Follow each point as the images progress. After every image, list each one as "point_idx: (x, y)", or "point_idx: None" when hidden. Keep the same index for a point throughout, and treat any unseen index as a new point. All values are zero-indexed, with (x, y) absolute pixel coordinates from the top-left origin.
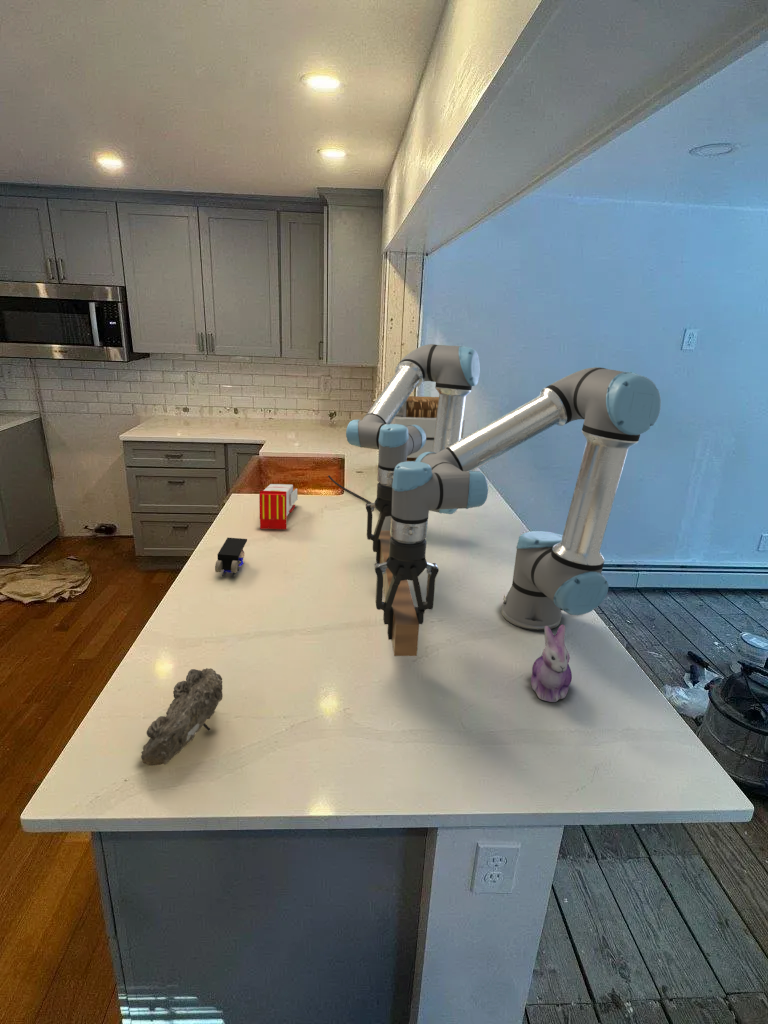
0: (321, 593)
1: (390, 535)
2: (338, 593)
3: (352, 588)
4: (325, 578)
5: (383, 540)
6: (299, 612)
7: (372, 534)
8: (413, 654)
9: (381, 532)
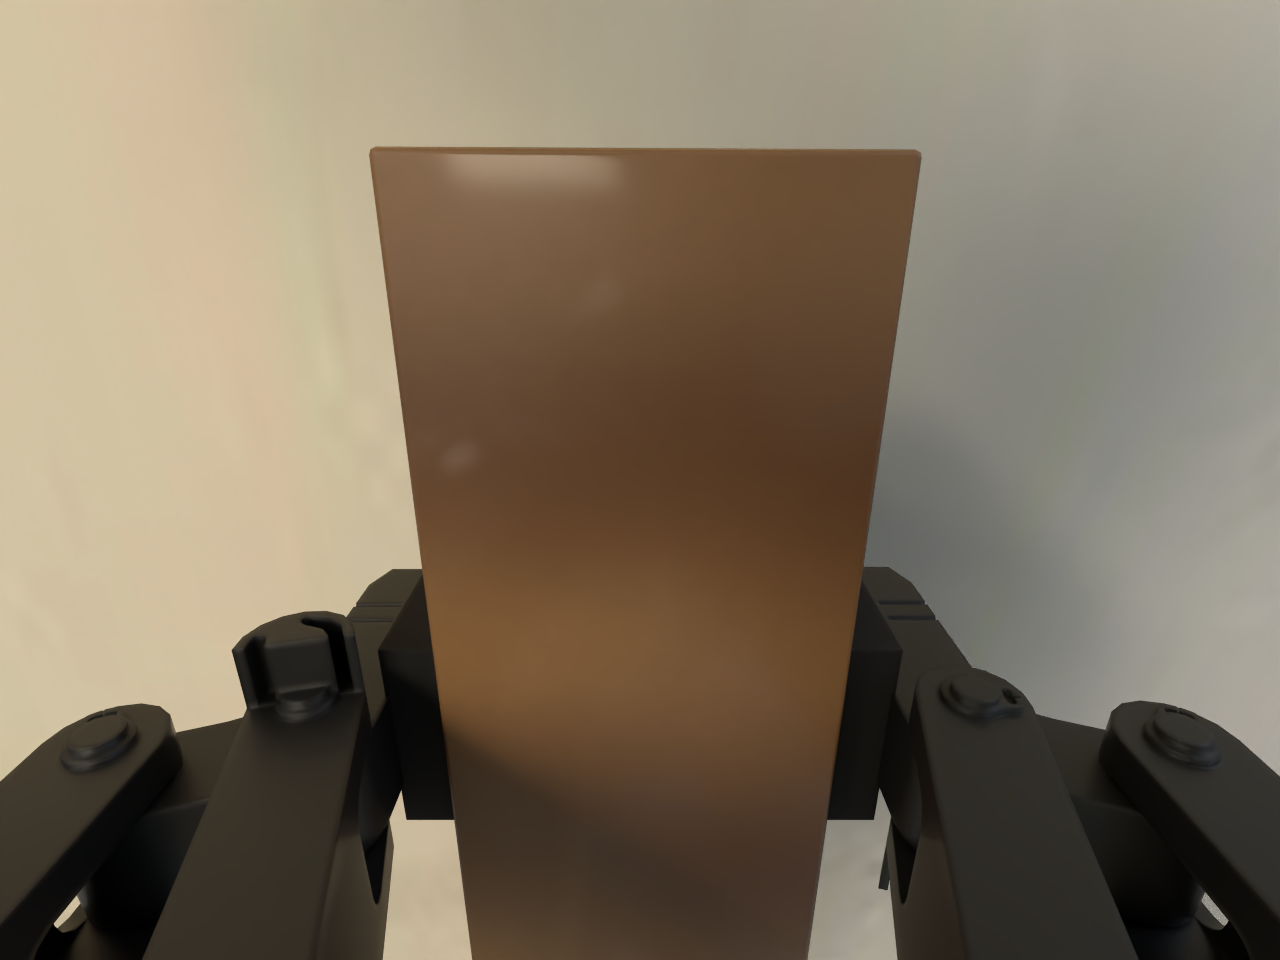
0: (100, 546)
1: (718, 549)
2: (238, 546)
3: (340, 465)
4: (41, 264)
5: (521, 815)
6: None
7: (196, 812)
8: None
9: (472, 330)
